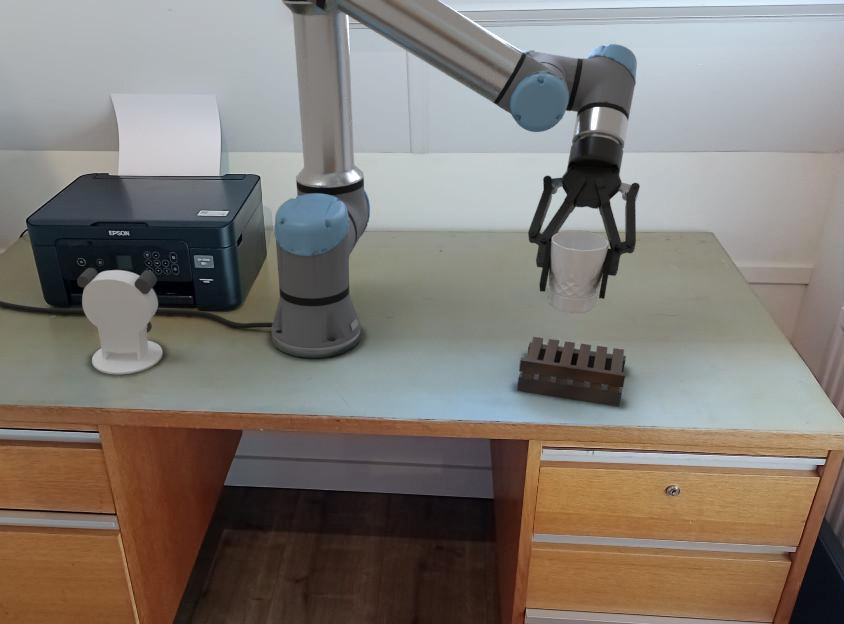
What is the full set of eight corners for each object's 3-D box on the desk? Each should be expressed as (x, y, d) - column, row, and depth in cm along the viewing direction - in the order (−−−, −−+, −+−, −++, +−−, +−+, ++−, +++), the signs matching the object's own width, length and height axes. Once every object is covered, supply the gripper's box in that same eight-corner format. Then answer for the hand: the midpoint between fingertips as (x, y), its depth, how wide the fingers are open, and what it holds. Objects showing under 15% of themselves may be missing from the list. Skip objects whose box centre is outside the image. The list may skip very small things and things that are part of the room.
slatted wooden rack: (516, 391, 121) (520, 360, 118) (528, 354, 131) (532, 325, 128) (619, 407, 117) (625, 376, 114) (623, 368, 126) (629, 338, 124)
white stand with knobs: (175, 342, 136) (163, 260, 128) (153, 376, 126) (139, 289, 118) (107, 339, 137) (91, 258, 129) (81, 372, 127) (62, 287, 120)
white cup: (600, 317, 114) (611, 252, 108) (544, 313, 115) (551, 248, 110) (597, 294, 120) (607, 231, 115) (543, 291, 122) (551, 228, 116)
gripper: (667, 165, 118) (644, 309, 113) (528, 155, 124) (501, 292, 119) (674, 138, 111) (650, 290, 106) (526, 129, 117) (498, 273, 112)
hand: (571, 291), depth 113 cm, fingers closed on white cup, 8 cm apart
